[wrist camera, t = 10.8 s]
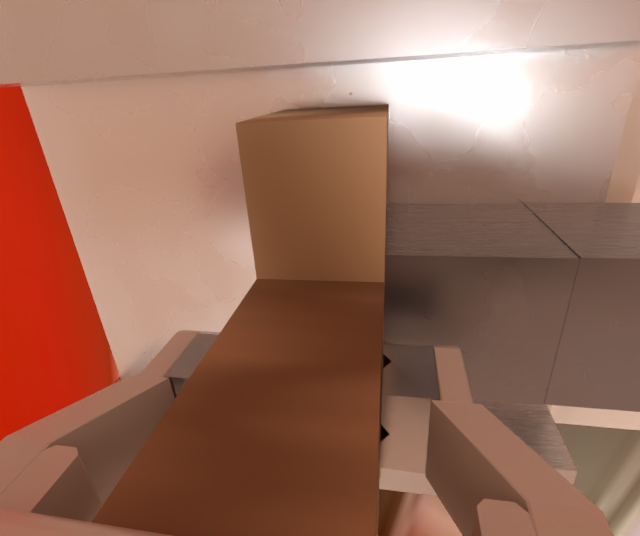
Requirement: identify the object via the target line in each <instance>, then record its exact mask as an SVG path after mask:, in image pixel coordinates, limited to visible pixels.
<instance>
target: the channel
mask: <svg viewBox="0 0 640 536" xmlns="http://www.w3.org/2000/svg"><path fill="white" fill-rule="evenodd" d="M639 70H640V0H0V87H21V88H22V91H23V94H24V97H25V100H26V103H27V106H28V108H29V111H30V114H31V117H32V120H33V123H34V126H35V129H36V132H37V135H38V138H39V141H40V143H41V146H42V149H43V152H44V155H45V158H46V161H47V164H48V167H49V170H50V173H51V176H52V179H53V181H54V184H55V187H56V190H57V193H58V196H59V199H60V202H61V205H62V208H63V211H64V214H65V216H66V219H67V222H68V225H69V228H70V231H71V234H72V237H73V240H74V243H75V246H76V249H77V251H78V254H79V257H80V260H81V263H82V266H83V269H84V272H85V275H86V278H87V281H88V284H89V287H90V289H91V292H92V295H93V298H94V301H95V304H96V307H97V310H98V313H99V316H100V319H101V322H102V324H103V327H104V330H105V333H106V336H107V339H108V342H109V345H110V348H111V351H112V354H113V357H114V359H115V362H116V365H117V368H118V371H119V374H120V377H119V378H118V379H117V381H116V382H118V381H120V380H123V379H125V378H127V377H129V376H131V375H140V373H141V372H142V371H143V370H144V369H145V368H146V367H147V365H148V364H149V363H150V362H151V361H152V360H153V359H154V357H155V356H156V355H157V354H158V353H159V352H160V351H161V350H162V348H163V347H164V346H165V345H166V344H167V343H168V342H169V340H170V339H171V338H172V337H173V336H174V335H175V334H176V333H177V332H178V331H181V330H193V331H208V332H221V331H222V329H223V328H224V326H225V325H226V323H227V322H228V320H229V319H230V317H231V316H232V314H233V313H234V311H235V310H236V309H237V307H238V306H239V304H240V303H241V301H242V300H243V298H244V297H245V295H246V294H247V292H248V291H249V289H250V288H251V286H252V285H253V284H254V282H255V281H256V279H257V278H256V270H255V263H254V256H253V249H252V241H251V234H250V227H249V220H248V212H247V205H246V198H245V190H244V183H243V176H242V169H241V161H240V154H239V147H238V140H237V132H236V125H235V123H237V122H241V121H245V120H248V119H252V118H255V117H259V116H263V115H266V114H270V113H274V112H277V111H281V110H286V109H306V108H326V107H346V106H367V105H387V104H389V116H388V170H387V204H524V203H605V200H606V196H607V192H608V188H609V185H610V181H611V177H612V173H613V169H614V165H615V162H616V158H617V154H618V150H619V146H620V142H621V139H622V135H623V131H624V127H625V123H626V119H627V116H628V112H629V108H630V104H631V100H632V96H633V93H634V89H635V85H636V81H637V77H638V74H639ZM116 382H115V383H116ZM472 400H473V403H474V404H482V405H483V406H484V407H485V408H487V409H488V410H489V411H490V412H491V413H492V414H493V415H494V416H496V417H497V418H498V419H499V420H500V421H501V422H502V423H503V424H504V425H506V426H507V427H508V428H509V429H510V430H511V431H512V432H513V433H515V434H516V435H517V436H518V437H519V438H520V439H521V440H522V441H524V442H525V443H526V444H527V445H528V446H529V447H530V448H531V449H533V450H534V451H535V452H536V453H537V454H538V455H539V456H540V457H542V458H543V459H544V460H545V461H546V462H547V463H548V464H549V465H551V466H552V467H553V468H554V469H555V470H556V471H557V472H558V473H560V474H561V475H562V476H563V477H564V478H565V479H566V480H567V481H569V482H570V483H571V484H572V485H573V484H574V481H575V478H576V475H577V472H578V471H577V469H576V467H575V465H574V463H573V460H572V458H571V456H570V454H569V452H568V450H567V447H566V445H565V443H564V441H563V439H562V437H561V434H560V432H559V430H558V428H557V426H556V424H555V422H554V419H553V417H552V415H551V413H550V410H551V407H552V405H545V404H544V405H540V404H527V403H514V402H501V401H488V400H475V399H472ZM379 489H385V490H393V491H401V492H409V493H417V494H426V495H434V496H437V494H436V492H435V491H434V489H433V488H432V486H431V485H430V483H429V481H428V480H427V478H426V477H425V474H421V473H414V472H407V471H400V470H393V469H386V468H381V478H380V480H379Z"/></svg>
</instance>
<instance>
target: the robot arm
mask: <svg viewBox="0 0 640 536" xmlns="http://www.w3.org/2000/svg"><path fill="white" fill-rule="evenodd" d="M219 333H220V332H208V331H193V330H181V331H178V332H177V333H176V334H175V335H174V336H173V337H172V338H171V339H170V340H169V342H168V343H167V344H166V345H165V346H164V347H163V348H162V350H161V351H160V352H159V353H158V354H157V355H156V356H155V357H154V359H153V360H152V361H151V362H150V363H149V364H148V365H147V367H146V368H145V369H144V370H143V371H142V372H141V373H140V375H131V376H129V377H127V378H125V379H123V380H120V381H118V382H116V383H114V384H112V385H110V386H108V387H106V388H104V389H102V390H100V391H98V392H96V393H94V394H92V395H90V396H88V397H86V398H84V399H82V400H79V401H77V402H75V403H73V404H71V405H69V406H67V407H65V408H63V409H61V410H59V411H57V412H55V413H53V414H51V415H49V416H47V417H45V418H43V419H41V420H38V421H36V422H34V423H32V424H30V425H28V426H26V427H24V428H22V429H20V430H18V431H16V432H14V433H12V434H10V435H8V436H6V437H5V438H4V439H3V440H1V441H0V536H172V535H165V534H159V533H153V532H147V531H141V530H135V529H129V528H123V527H117V526H111V525H105V524H99V523H92V520H93V519H94V517H95V516H96V514H97V513H98V511H99V510H100V508H101V507H102V505H103V504H104V502H105V501H106V499H107V498H108V497H109V495H110V494H111V492H112V491H113V489H114V488H115V486H116V485H117V483H118V482H119V480H120V479H121V477H122V476H123V474H124V473H125V472H126V470H127V469H128V467H129V466H130V464H131V463H132V461H133V460H134V458H135V457H136V455H137V454H138V452H139V451H140V450H141V448H142V447H143V445H144V444H145V442H146V441H147V439H148V438H149V436H150V435H151V433H152V432H153V430H154V429H155V427H156V426H157V425H158V423H159V422H160V420H161V419H162V417H163V416H164V414H165V413H166V411H167V410H168V408H169V407H170V405H171V404H172V403H173V401H174V400H175V398H176V397H177V395H178V394H179V392H180V391H181V389H182V388H183V386H184V385H185V383H186V382H187V380H188V379H189V378H190V376H191V375H192V373H193V372H194V370H195V369H196V367H197V366H198V364H199V363H200V361H201V360H202V358H203V357H204V356H205V354H206V353H207V351H208V350H209V348H210V347H211V345H212V344H213V342H214V341H215V339H216V338H217V336H218V335H219ZM380 468H386V469H393V470H400V471H407V472H414V473H421V474H425V477H426V478H427V480H428V481H429V483H430V485H431V486H432V488H433V489H434V491H435V492H436V494H437V496H438V497H439V499H440V500H441V502H442V503H443V505H444V507H445V508H446V510H447V511H448V513H449V515H450V516H451V518H452V519H453V521H454V522H455V524H456V526H457V527H458V529H459V530H460V532H461V533H462V535H463V536H614V535H613V533H612V531H611V529H610V527H609V525H608V523H607V521H606V519H605V516H604V514H603V512H602V511H601V510H600V509H599V508H598V507H597V506H596V505H594V504H593V503H592V502H591V501H590V500H589V499H588V498H587V497H585V496H584V495H583V494H582V493H581V492H580V491H579V490H578V489H576V488H575V487H574V486H573V485H572V484H571V483H570V482H569V481H567V480H566V479H565V478H564V477H563V476H562V475H561V474H560V473H558V472H557V471H556V470H555V469H554V468H553V467H552V466H551V465H549V464H548V463H547V462H546V461H545V460H544V459H543V458H542V457H540V456H539V455H538V454H537V453H536V452H535V451H534V450H533V449H531V448H530V447H529V446H528V445H527V444H526V443H525V442H524V441H522V440H521V439H520V438H519V437H518V436H517V435H516V434H515V433H513V432H512V431H511V430H510V429H509V428H508V427H507V426H506V425H504V424H503V423H502V422H501V421H500V420H499V419H498V418H497V417H496V416H494V415H493V414H492V413H491V412H490V411H489V410H488V409H487V408H485V407H484V406H483V405H482V404H474V403H473V400H472V395H471V391H470V387H469V383H468V379H467V375H466V370H465V366H464V362H463V358H462V354H461V350H460V348H459V347H458V346H445V345H433V346H426V345H406V344H387V343H384V350H383V369H382V392H381V439H380Z"/></svg>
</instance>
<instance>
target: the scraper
mask: <svg viewBox="0 0 640 536" xmlns="http://www.w3.org/2000/svg"><path fill="white" fill-rule="evenodd" d="M388 116H389V104H387V105H367V106H346V107H326V108H306V109H286V110H281V111H277V112H274V113H270V114H266V115H263V116H259V117H255V118H252V119H248V120H245V121H241V122H237V123H235V125H236V132H237V140H238V147H239V154H240V161H241V169H242V176H243V183H244V190H245V198H246V205H247V212H248V220H249V227H250V234H251V241H252V249H253V256H254V263H255V270H256V278H257V279H256V281H255V282H254V284H253V285H252V286H251V288H250V289H249V291H248V292H247V294H246V295H245V297H244V298H243V300H242V301H241V303H240V304H239V306H238V307H237V309H236V310H235V311H234V313H233V314H232V316H231V317H230V319H229V320H228V322H227V323H226V325H225V326H224V328H223V329H222V331H221V332H220V333H219V335H218V336H217V338H216V339H215V341H214V342H213V344H212V345H211V347H210V348H209V350H208V351H207V353H206V354H205V356H204V357H203V358H202V360H201V361H200V363H199V364H198V366H197V367H196V369H195V370H194V372H193V373H192V375H191V376H190V378H189V379H188V380H187V382H186V383H185V385H184V386H183V388H182V389H181V391H180V392H179V394H178V395H177V397H176V398H175V400H174V401H173V403H172V404H171V405H170V407H169V408H168V410H167V411H166V413H165V414H164V416H163V417H162V419H161V420H160V422H159V423H158V425H157V426H156V427H155V429H154V430H153V432H152V433H151V435H150V436H149V438H148V439H147V441H146V442H145V444H144V445H143V447H142V448H141V450H140V451H139V452H138V454H137V455H136V457H135V458H134V460H133V461H132V463H131V464H130V466H129V467H128V469H127V470H126V472H125V473H124V474H123V476H122V477H121V479H120V480H119V482H118V483H117V485H116V486H115V488H114V489H113V491H112V492H111V494H110V495H109V497H108V498H107V499H106V501H105V502H104V504H103V505H102V507H101V508H100V510H99V511H98V513H97V514H96V516H95V517H94V519H93V520H92V523H99V524H105V525H111V526H117V527H123V528H129V529H135V530H141V531H147V532H153V533H159V534H165V535H172V536H378V512H379V480H380V478H381V468H380V439H381V392H382V369H383V332H384V273H385V239H386V219H387V170H388Z"/></svg>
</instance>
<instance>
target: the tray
mask: <svg viewBox="0 0 640 536" xmlns="http://www.w3.org/2000/svg"><path fill="white" fill-rule="evenodd" d="M605 203H640V70H639V74H638V77H637V81H636V85H635V89H634V93H633V96H632V100H631V104H630V108H629V112H628V116H627V119H626V123H625V127H624V131H623V135H622V139H621V142H620V146H619V150H618V154H617V158H616V162H615V165H614V169H613V173H612V177H611V181H610V185H609V188H608V192H607V196H606V200H605ZM550 413H551V415H552V417H553V419H554V422H555V423H562V424H574V425H585V426H596V427H608V428H619V429H631V430H640V412H633V411H621V410H608V409H595V408H583V407H570V406H557V405H552V407H551V410H550Z"/></svg>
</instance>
